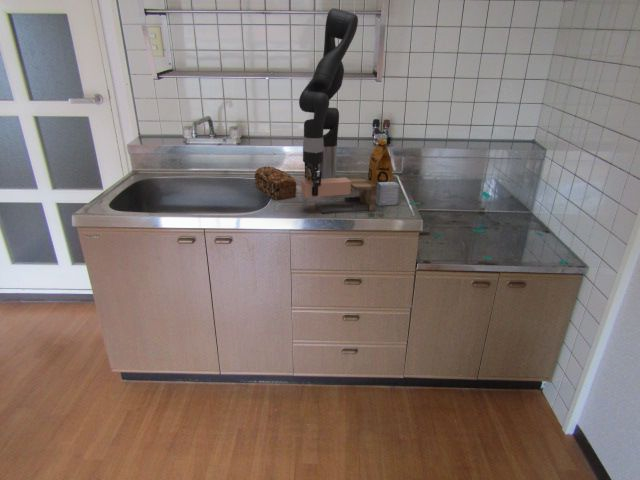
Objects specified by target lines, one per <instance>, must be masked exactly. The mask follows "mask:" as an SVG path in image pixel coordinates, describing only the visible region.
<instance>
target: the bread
mask: <svg viewBox="0 0 640 480" xmlns="http://www.w3.org/2000/svg"><path fill="white" fill-rule="evenodd" d="M254 182H255V183H254V184H255V187H256V189H257V190H259V191H260V192H261V193H263V194H265V195H266V196H268V197H270V198H272V199H274V200H277V201H278V200H279V201H280V200H284V199H287V198H288V199H291V198H294V197H296V195H297V181H296V180H295V179H294V177H293V176H291V175H290V174H289V173H287V172H285V171H284V170H281V169H279V168H277V167H276V168H275V166H274V167H273V166H266V165H265V166H262V167H259V168H258V169H256V170H255V173H254Z"/></svg>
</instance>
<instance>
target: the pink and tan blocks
mask: <svg viewBox="0 0 640 480" xmlns="http://www.w3.org/2000/svg"><path fill="white" fill-rule="evenodd" d="M346 178H347V179H349V180H350V181H351V189H353V190H355V191H358V195H356V196H348V197H347V196H345V197H344V198H343V199H344V200H341V201H339V200H337V201H326V202H315V203H314V206H315V207H316V208H317V209H318V210H319V212H320V213H321V214H322V215H328V214H329V215H330V214H338V213H339V214H340V213H350V212H361V211H369V212H371V211H373V212H374V211H375V206H376V185H374V184H373V183H372V182H370V181H369V180H368V178H366V177H365V176H359V177H346Z"/></svg>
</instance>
